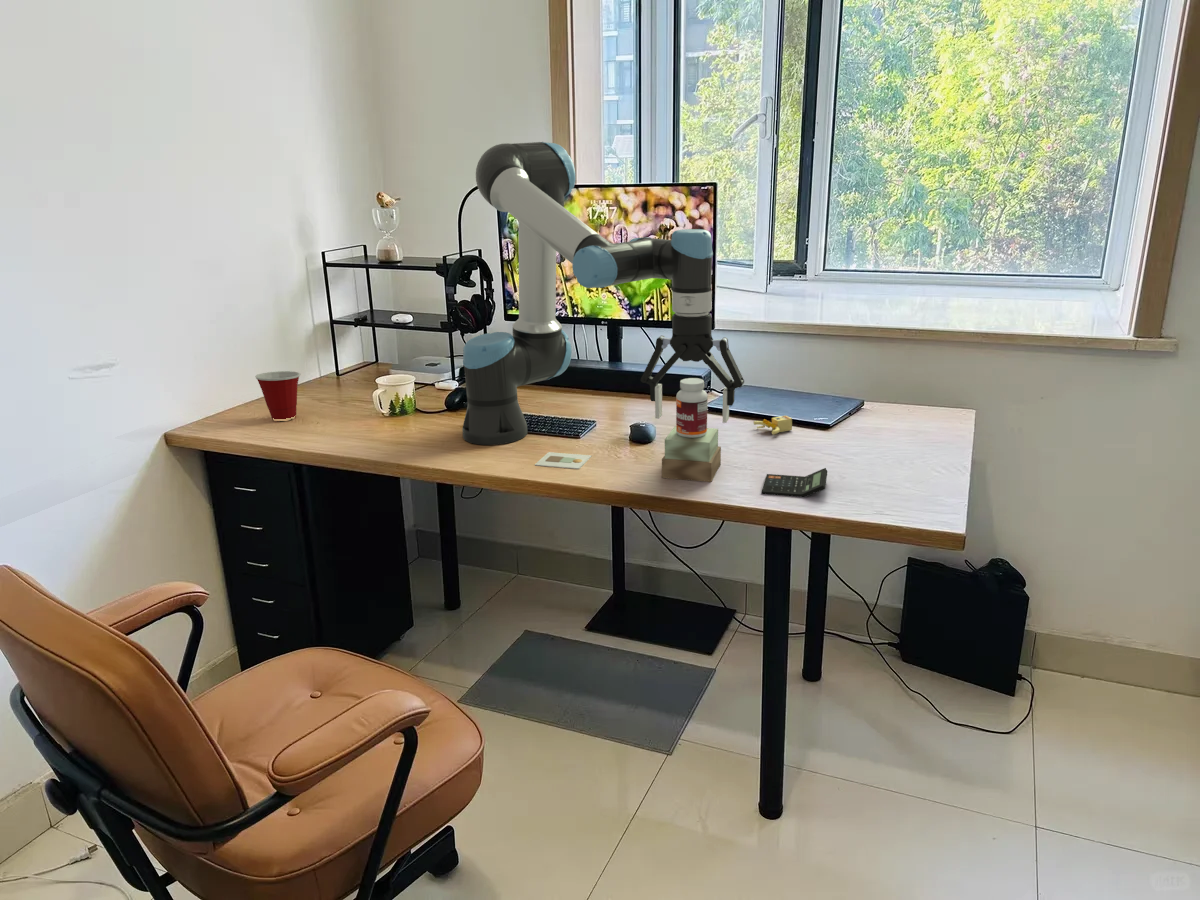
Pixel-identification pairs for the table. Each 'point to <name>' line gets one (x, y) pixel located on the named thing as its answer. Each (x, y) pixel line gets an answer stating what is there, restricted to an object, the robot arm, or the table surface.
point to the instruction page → (563, 460)
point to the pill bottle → (691, 408)
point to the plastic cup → (280, 392)
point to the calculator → (795, 484)
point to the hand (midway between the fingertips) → (691, 418)
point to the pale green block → (691, 456)
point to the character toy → (776, 424)
